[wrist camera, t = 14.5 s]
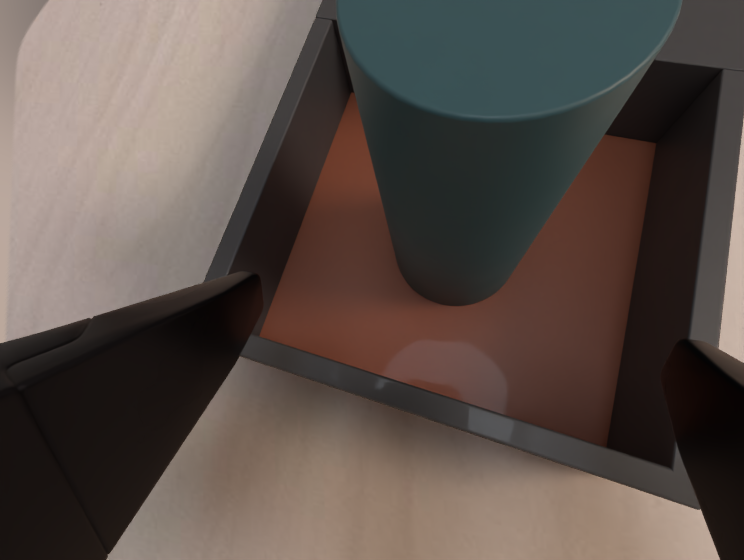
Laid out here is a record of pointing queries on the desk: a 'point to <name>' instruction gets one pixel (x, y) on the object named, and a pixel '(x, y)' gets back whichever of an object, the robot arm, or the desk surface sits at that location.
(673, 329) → the toy kitchen
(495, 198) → the teal green cylinder
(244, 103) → the desk surface
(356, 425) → the desk surface
